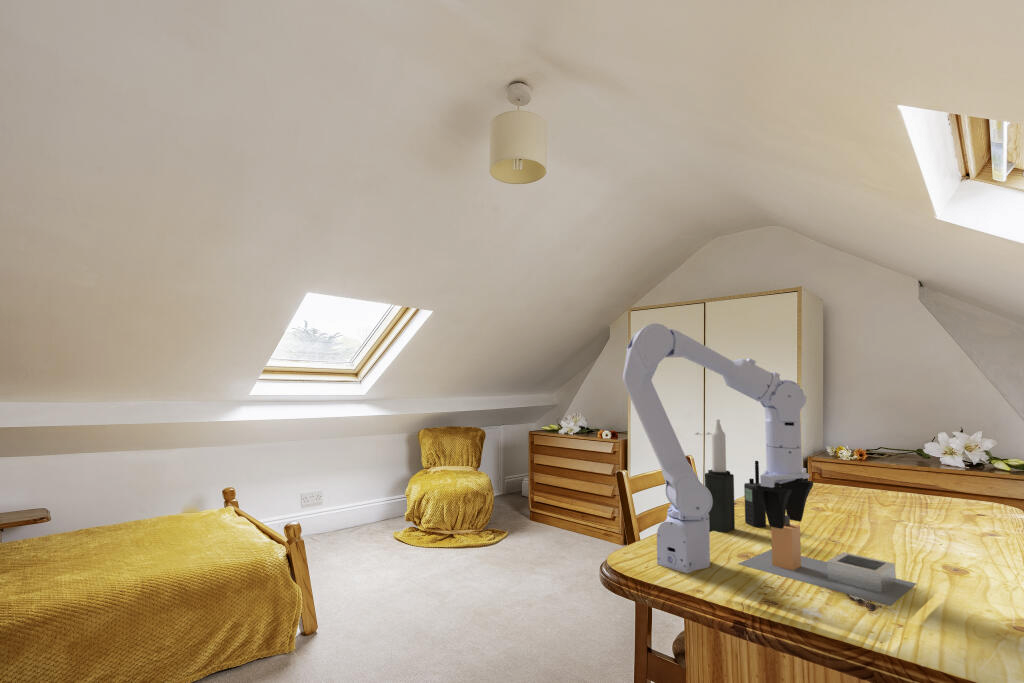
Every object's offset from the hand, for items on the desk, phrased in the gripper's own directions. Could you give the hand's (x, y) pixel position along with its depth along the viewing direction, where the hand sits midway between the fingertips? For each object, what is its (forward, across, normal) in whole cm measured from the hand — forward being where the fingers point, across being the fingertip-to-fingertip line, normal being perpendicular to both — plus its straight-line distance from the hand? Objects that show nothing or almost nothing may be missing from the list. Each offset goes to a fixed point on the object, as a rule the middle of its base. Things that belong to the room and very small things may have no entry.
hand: (785, 523), depth 95 cm
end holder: (+8, +2, -11) cm, 14 cm away
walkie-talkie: (+8, +27, +18) cm, 33 cm away
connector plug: (+7, 0, 0) cm, 7 cm away
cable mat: (+8, +1, -5) cm, 10 cm away
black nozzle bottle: (+8, +14, +20) cm, 26 cm away
